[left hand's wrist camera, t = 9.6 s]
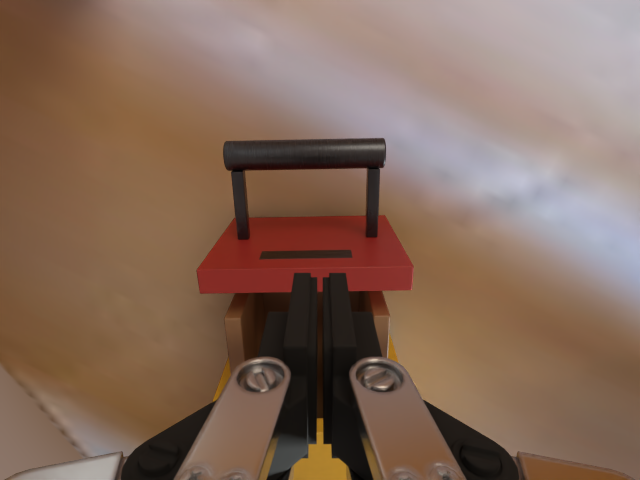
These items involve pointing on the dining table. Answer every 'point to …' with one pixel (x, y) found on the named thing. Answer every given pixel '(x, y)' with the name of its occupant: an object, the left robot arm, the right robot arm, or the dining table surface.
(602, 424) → the dining table surface
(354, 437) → the left robot arm
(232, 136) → the dining table surface
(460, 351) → the dining table surface
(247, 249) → the drawer
